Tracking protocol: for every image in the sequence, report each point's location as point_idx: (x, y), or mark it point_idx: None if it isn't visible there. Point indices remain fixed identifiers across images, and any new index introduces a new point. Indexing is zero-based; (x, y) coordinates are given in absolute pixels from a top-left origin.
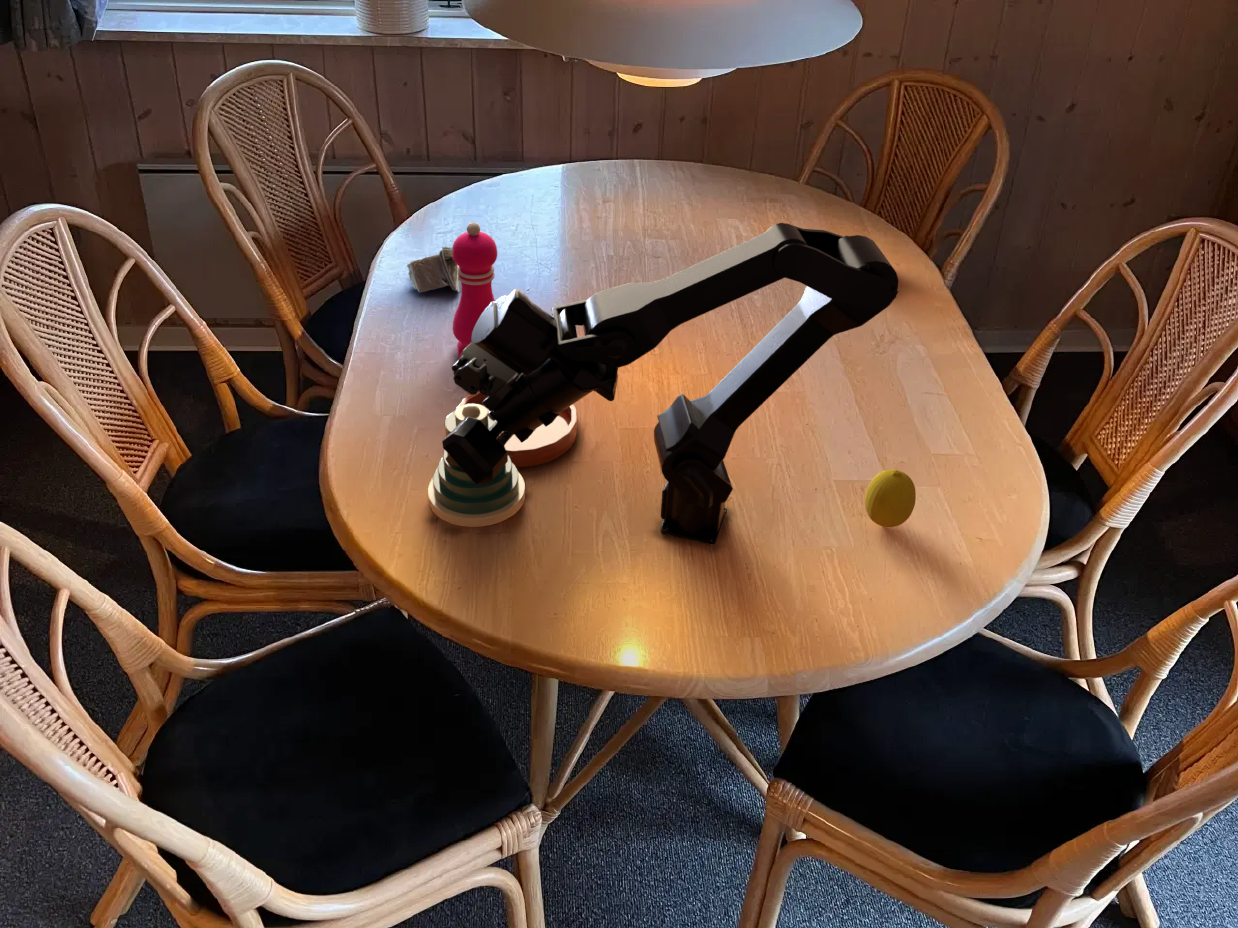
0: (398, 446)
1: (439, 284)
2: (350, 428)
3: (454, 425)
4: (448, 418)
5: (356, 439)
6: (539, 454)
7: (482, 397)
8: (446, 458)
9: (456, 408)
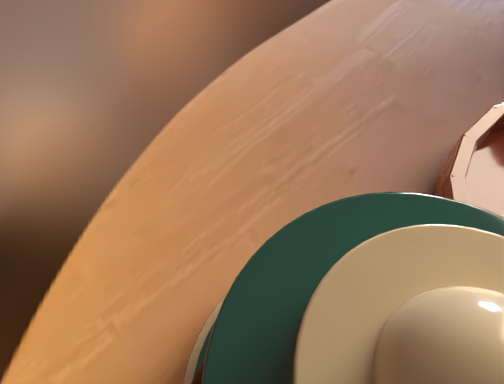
0: (326, 117)
1: None
2: (297, 42)
3: (287, 321)
4: (316, 225)
5: (284, 65)
6: None
7: None
8: (197, 373)
9: (495, 106)
